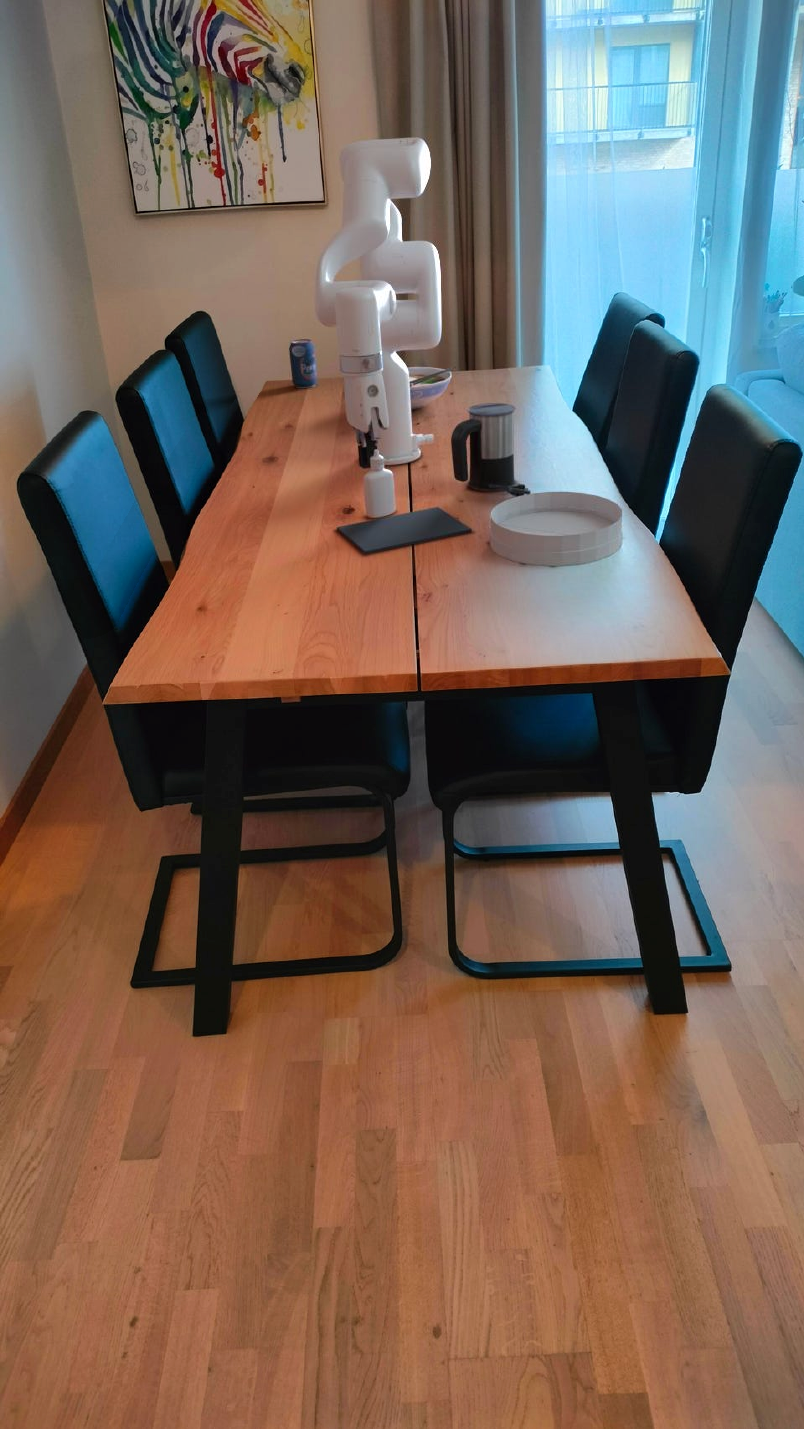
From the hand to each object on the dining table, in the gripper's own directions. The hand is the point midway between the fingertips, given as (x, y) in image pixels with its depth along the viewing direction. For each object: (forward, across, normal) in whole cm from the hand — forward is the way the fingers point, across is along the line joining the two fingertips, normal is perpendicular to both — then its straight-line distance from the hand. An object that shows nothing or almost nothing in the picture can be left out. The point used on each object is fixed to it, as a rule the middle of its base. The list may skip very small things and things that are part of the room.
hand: (369, 466), depth 190 cm
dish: (+8, -33, -20) cm, 40 cm away
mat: (+8, -15, 0) cm, 17 cm away
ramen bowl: (+8, +68, -37) cm, 78 cm away
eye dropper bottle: (+8, -4, 0) cm, 9 cm away
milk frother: (+8, -4, -25) cm, 27 cm away
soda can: (+8, +108, -23) cm, 111 cm away
